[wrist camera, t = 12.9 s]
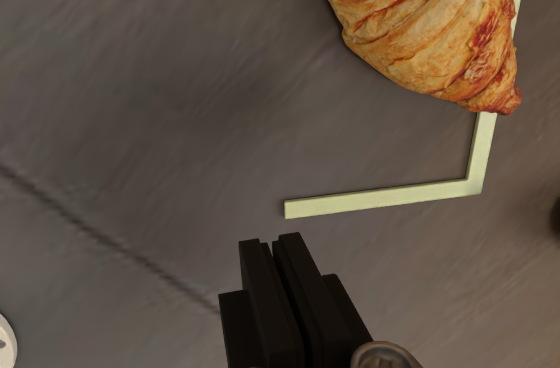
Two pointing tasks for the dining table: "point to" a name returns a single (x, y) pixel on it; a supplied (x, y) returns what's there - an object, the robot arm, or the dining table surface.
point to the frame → (410, 192)
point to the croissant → (439, 47)
